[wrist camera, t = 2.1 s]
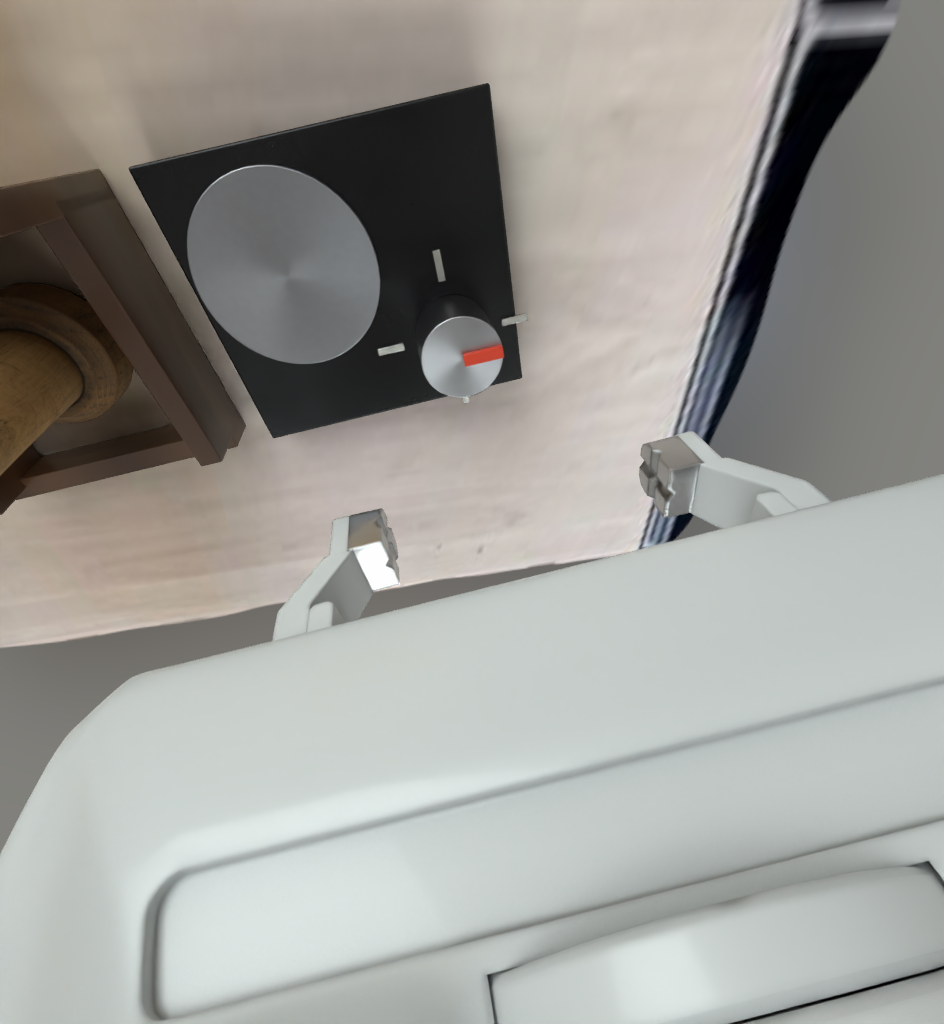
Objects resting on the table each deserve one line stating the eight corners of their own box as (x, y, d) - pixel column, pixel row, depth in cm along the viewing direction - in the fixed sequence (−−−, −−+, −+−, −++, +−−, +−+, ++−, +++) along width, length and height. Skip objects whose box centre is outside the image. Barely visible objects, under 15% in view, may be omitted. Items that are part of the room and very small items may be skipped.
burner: (245, 377, 25) (244, 380, 25) (146, 189, 19) (143, 190, 19) (400, 340, 25) (400, 343, 25) (345, 142, 19) (344, 143, 19)
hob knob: (425, 377, 26) (432, 408, 24) (406, 304, 24) (411, 329, 21) (494, 360, 26) (509, 390, 24) (483, 286, 24) (498, 309, 21)
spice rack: (38, 476, 30) (-61, 583, 23) (-198, 238, 21) (-475, 296, 14) (246, 425, 30) (209, 517, 23) (99, 168, 21) (-31, 192, 14)
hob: (284, 422, 30) (277, 448, 28) (152, 162, 21) (125, 167, 19) (521, 365, 30) (534, 386, 28) (489, 83, 21) (505, 79, 19)
